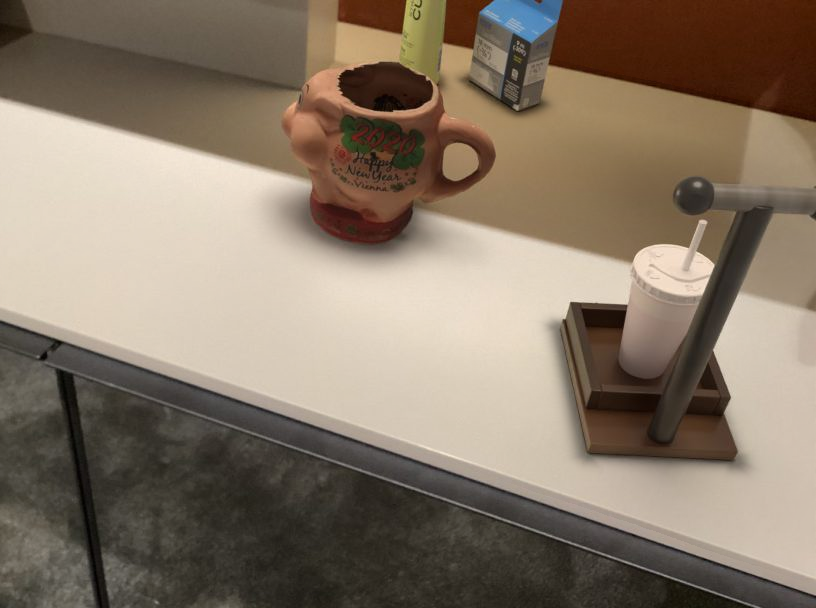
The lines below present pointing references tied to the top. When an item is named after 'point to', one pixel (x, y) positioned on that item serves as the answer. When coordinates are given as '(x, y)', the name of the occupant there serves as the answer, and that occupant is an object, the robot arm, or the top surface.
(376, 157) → the pink novelty mug
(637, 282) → the smoothie
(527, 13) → the blue grey carton
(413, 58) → the tube
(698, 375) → the jewelry holder
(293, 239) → the top surface
